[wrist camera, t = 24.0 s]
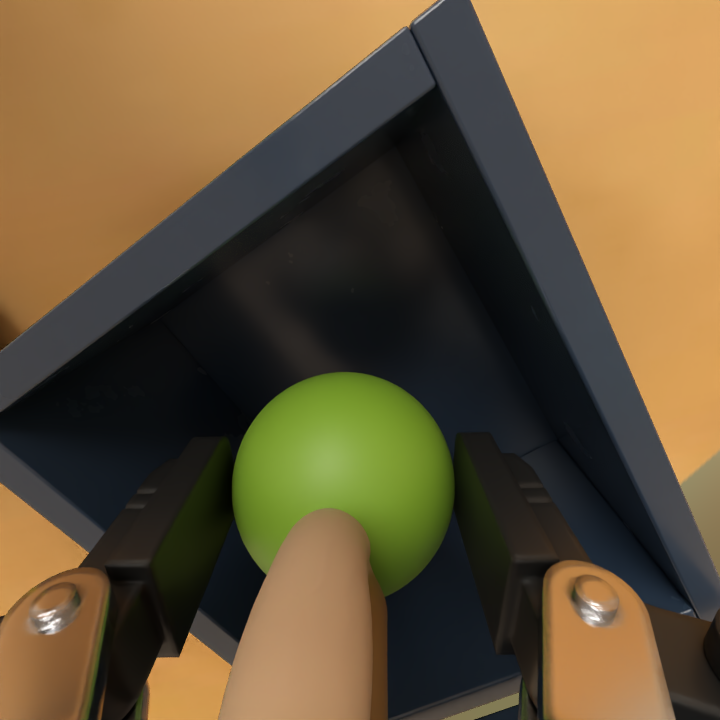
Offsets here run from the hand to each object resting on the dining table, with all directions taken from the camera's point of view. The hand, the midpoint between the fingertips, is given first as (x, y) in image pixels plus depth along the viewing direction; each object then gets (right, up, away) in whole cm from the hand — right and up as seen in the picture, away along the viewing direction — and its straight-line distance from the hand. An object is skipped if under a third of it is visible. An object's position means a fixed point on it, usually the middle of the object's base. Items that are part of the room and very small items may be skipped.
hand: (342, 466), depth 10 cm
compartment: (+1, +2, +8) cm, 8 cm away
